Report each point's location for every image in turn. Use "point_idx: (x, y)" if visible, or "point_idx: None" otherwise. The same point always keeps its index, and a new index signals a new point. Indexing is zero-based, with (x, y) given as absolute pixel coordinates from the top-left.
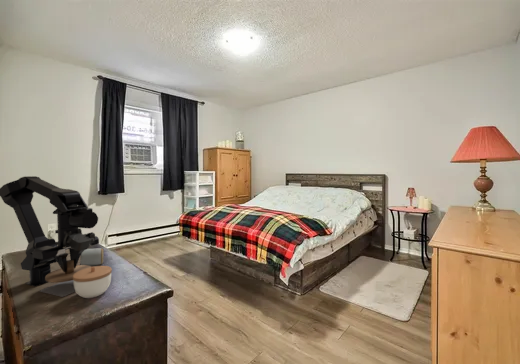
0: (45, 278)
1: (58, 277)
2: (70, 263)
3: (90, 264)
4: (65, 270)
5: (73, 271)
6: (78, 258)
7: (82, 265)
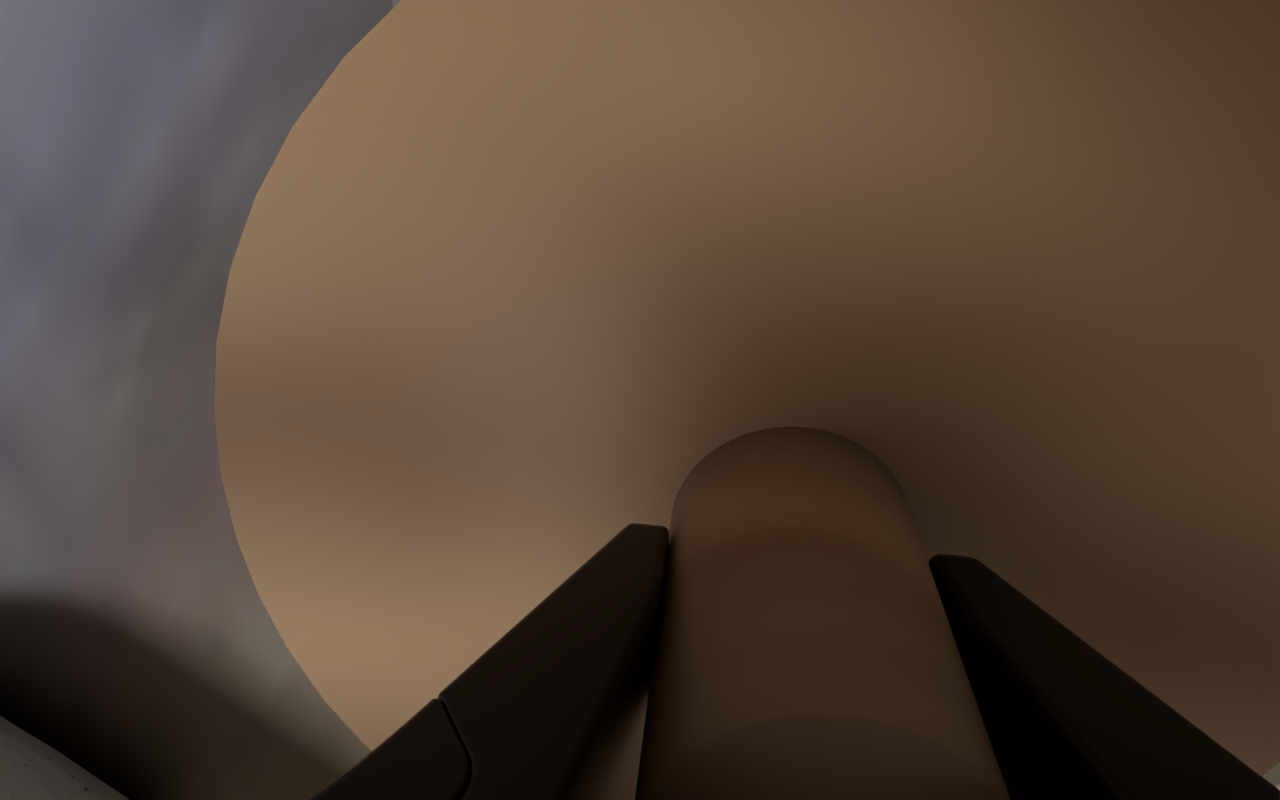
0: (1278, 752)
1: (1221, 485)
2: (904, 666)
3: (20, 751)
4: (990, 578)
5: (748, 442)
6: (453, 720)
7: (294, 613)
